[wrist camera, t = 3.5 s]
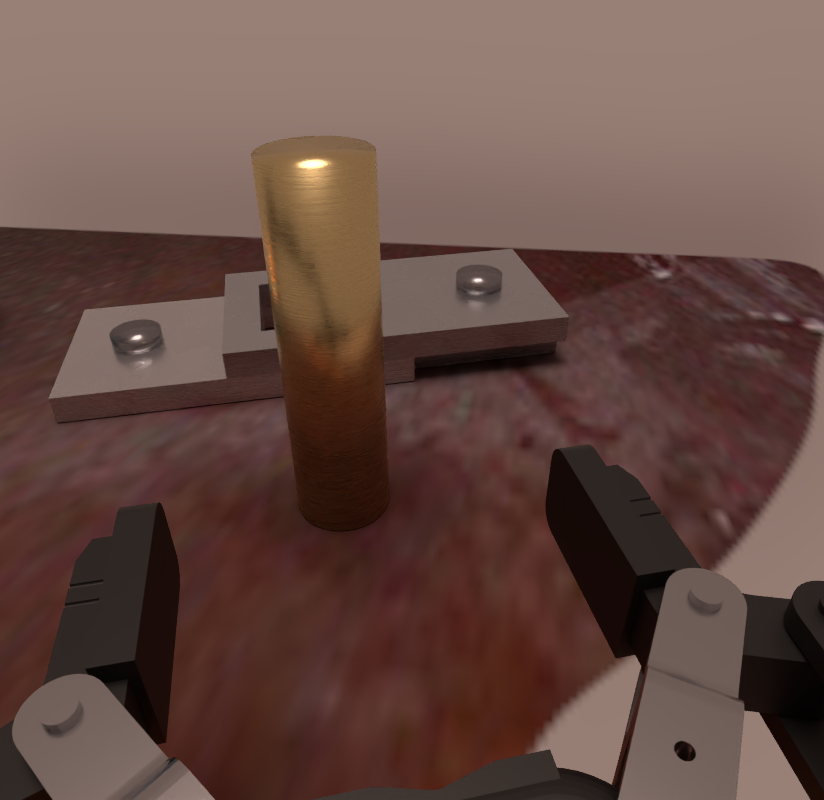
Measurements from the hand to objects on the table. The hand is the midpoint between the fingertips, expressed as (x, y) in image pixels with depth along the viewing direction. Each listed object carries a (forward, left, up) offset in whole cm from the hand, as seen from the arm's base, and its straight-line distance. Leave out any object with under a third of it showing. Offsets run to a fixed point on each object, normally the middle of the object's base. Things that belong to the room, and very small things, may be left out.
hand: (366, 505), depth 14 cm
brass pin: (0, +8, -7) cm, 11 cm away
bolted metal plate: (0, +19, -7) cm, 20 cm away
